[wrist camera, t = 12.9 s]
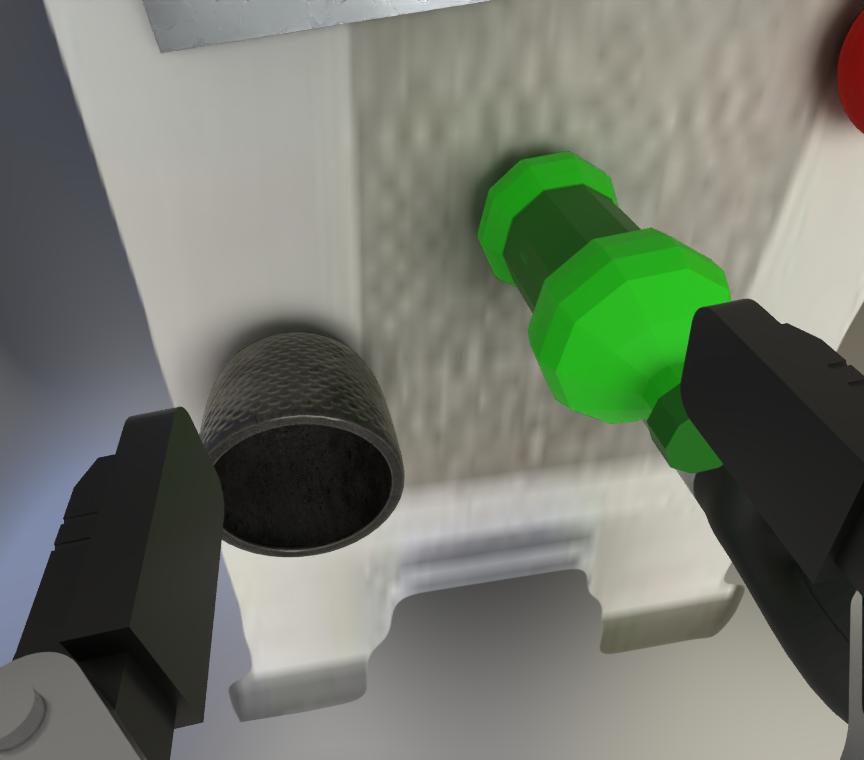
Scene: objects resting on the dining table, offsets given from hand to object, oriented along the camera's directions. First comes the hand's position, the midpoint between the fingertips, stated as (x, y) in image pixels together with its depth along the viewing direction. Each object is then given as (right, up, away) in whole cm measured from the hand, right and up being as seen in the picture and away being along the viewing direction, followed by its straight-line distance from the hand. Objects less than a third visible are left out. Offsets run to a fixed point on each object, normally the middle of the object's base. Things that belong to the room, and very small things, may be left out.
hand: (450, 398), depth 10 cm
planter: (-11, +1, +42) cm, 43 cm away
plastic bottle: (+7, +13, +36) cm, 39 cm away
